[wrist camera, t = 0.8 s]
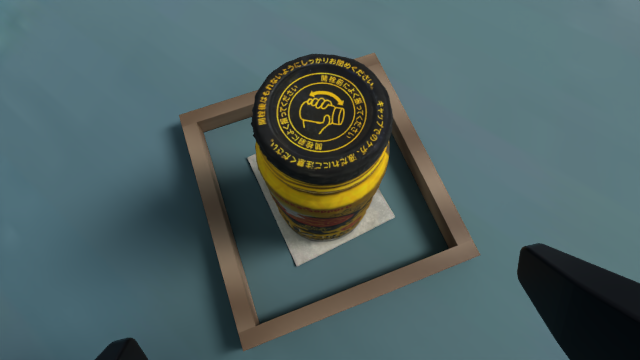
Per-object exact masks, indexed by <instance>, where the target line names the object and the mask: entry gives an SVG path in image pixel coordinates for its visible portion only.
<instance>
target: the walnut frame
mask: <svg viewBox="0 0 640 360" xmlns="http://www.w3.org/2000/svg"><path fill="white" fill-rule="evenodd" d="M354 60H356V61H358V62H360V63H362V64H364V65H365V66H366V67H367V68H369V69H370V70H371V71H372V72H373V73H374V74H375V75H376V76H377V78H378V79H379V80H380V82H381V83H382V85H383V86H384V87H385V88H386V90H387V92H388V94H389V98H390V103H391V108H392V114H393V122H392V124H393V125H392V134H393V136H394V138H395V140H396V142H397V144H398V146H399V148H400V150H401V152H402V154H403V156H404V158H405V160H406V162H407V164H408V166H409V168H410V170H411V172H412V174H413V177H414V179H415V181H416V183H417V185H418V187H419V189H420V191H421V193H422V195H423V197H424V199H425V201H426V203H427V205H428V207H429V209H430V211H431V213H432V215H433V217H434V219H435V221H436V223H437V225H438V227H439V229H440V231H441V233H442V235H443V237H444V239H445V241H446V243H447V245H448V247H449V249H447V250H445V251H442V252H440V253H437V254H435V255H432V256H430V257H427V258H425V259H422V260H420V261H417V262H415V263H412V264H410V265H407V266H405V267H402V268H400V269H397V270H395V271H392V272H390V273H387V274H385V275H382V276H380V277H377V278H375V279H372V280H370V281H367V282H365V283H362V284H360V285H357V286H355V287H352V288H350V289H347V290H345V291H342V292H340V293H337V294H335V295H332V296H330V297H327V298H325V299H322V300H320V301H317V302H315V303H312V304H310V305H307V306H304V307H302V308H299V309H297V310H294V311H292V312H289V313H287V314H284V315H282V316H279V317H277V318H274V319H272V320H269V321H267V322H264V323H262V324H259V320H258V317H257V313H256V310H255V307H254V303H253V300H252V296H251V293H250V290H249V286H248V283H247V279H246V276H245V272H244V269H243V266H242V262H241V259H240V255H239V252H238V249H237V245H236V242H235V238H234V235H233V232H232V228H231V225H230V221H229V218H228V215H227V211H226V208H225V204H224V201H223V198H222V194H221V191H220V187H219V184H218V180H217V177H216V174H215V170H214V167H213V163H212V160H211V157H210V153H209V150H208V146H207V143H206V140H205V136H204V133H203V132H206V131H209V130H212V129H215V128H218V127H221V126H224V125H227V124H230V123H233V122H236V121H240V120H243V119H246V118H249V117H252V115H253V112H252V109H253V107H254V101H255V95H256V93H257V91H258V90H256V91H253V92H250V93H247V94H244V95H241V96H237V97H234V98H231V99H228V100H225V101H222V102H219V103H215V104H212V105H209V106H206V107H203V108H200V109H197V110H194V111H190V112H187V113H184V114H181V115H179V117H180V121H181V124H182V128H183V132H184V135H185V139H186V143H187V146H188V150H189V154H190V157H191V161H192V165H193V168H194V172H195V176H196V179H197V183H198V187H199V190H200V194H201V198H202V201H203V205H204V209H205V212H206V216H207V220H208V223H209V227H210V231H211V234H212V238H213V242H214V245H215V249H216V253H217V257H218V260H219V264H220V268H221V271H222V275H223V279H224V282H225V286H226V290H227V293H228V297H229V301H230V304H231V308H232V312H233V315H234V319H235V323H236V326H237V330H238V334H239V337H240V341H241V345H242V348H243V351H245V350H248V349H250V348H253V347H255V346H258V345H260V344H263V343H265V342H268V341H270V340H272V339H275V338H277V337H280V336H282V335H285V334H287V333H290V332H292V331H295V330H297V329H300V328H302V327H304V326H307V325H309V324H312V323H314V322H317V321H319V320H322V319H324V318H327V317H329V316H332V315H334V314H337V313H339V312H341V311H344V310H346V309H349V308H351V307H354V306H356V305H359V304H361V303H364V302H366V301H369V300H371V299H373V298H376V297H378V296H381V295H383V294H386V293H388V292H391V291H393V290H396V289H398V288H401V287H403V286H405V285H408V284H410V283H413V282H415V281H418V280H420V279H423V278H425V277H428V276H430V275H433V274H435V273H437V272H440V271H442V270H445V269H447V268H450V267H452V266H455V265H457V264H460V263H462V262H465V261H467V260H469V259H472V258H474V257H477V256H479V255H480V253H479V251H478V249H477V247H476V245H475V244H474V242H473V240H472V238H471V236H470V234H469V232H468V230H467V228H466V226H465V224H464V223H463V221H462V219H461V217H460V215H459V213H458V211H457V209H456V207H455V205H454V203H453V201H452V200H451V198H450V196H449V194H448V192H447V190H446V188H445V186H444V184H443V182H442V180H441V179H440V177H439V175H438V173H437V171H436V169H435V167H434V165H433V163H432V161H431V159H430V157H429V156H428V154H427V152H426V150H425V148H424V146H423V144H422V142H421V140H420V138H419V136H418V135H417V133H416V131H415V129H414V127H413V125H412V123H411V121H410V119H409V117H408V115H407V114H406V112H405V110H404V108H403V106H402V104H401V102H400V100H399V98H398V96H397V94H396V92H395V91H394V89H393V87H392V85H391V83H390V81H389V79H388V77H387V75H386V73H385V71H384V70H383V68H382V66H381V64H380V62H379V60H378V58H377V56H376V54H375V53H372V54H369V55H366V56H363V57H360V58H356V59H354Z"/></svg>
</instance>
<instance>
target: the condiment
mask: <svg viewBox="0 0 640 360" xmlns="http://www.w3.org/2000/svg"><path fill="white" fill-rule="evenodd" d="M252 112H253V115H252V123H251V125H252V127H253V132H254V134H253V136H254V137H255V139H256V145H255V148H256V154H254V155H252V156H250V157H248V160H249V163H250V165H251V167H252V169H253V171H254V174H255V176H256V178H257V180H258V182H259V184H260V186H261V189H262V191H263V193H264V195H265V198H266V200H267V202H268V204H269V206H270V208H271V211H272V213H273V215H274V217H275V219H276V222H277V224H278V226H279V228H280V230H281V233H282V235H283V237H284V239H285V241H286V243H287V246H288V248H289V250H290V252H291V254H292V257H293V259H294V261H295V263H296V265H297V266H299V265H301V264H303V263H305V262H307V261H309V260H311V259H313V258H315V257H317V256H319V255H321V254H323V253H325V252H327V251H329V250H331V249H333V248H335V247H337V246H339V245H341V244H343V243H345V242H347V241H349V240H351V239H353V238H355V237H357V236H359V235H361V234H363V233H365V232H367V231H369V230H371V229H373V228H374V227H376V226H378V225H380V224H382V223H384V222H386V221H388V220H390V219H392V218H394V217H395V216H394V214H393V212H392V211H391V209H390V207H389V206H388V204H387V202H386V200H385V199H384V197H383V195H382V194H381V192H380V190H379V185H380V183H381V181H382V178H383V176H384V174H385V172H386V168H387V165H388V160H389V153H390V151H389V147H390V144H389V139H390V137H391V132H392V125H393V124H392V122H393V114H392V108H391V103H390V98H389V94H388V92H387V90H386V88H385V87H384V86H383V85H382V83H381V82H380V80H379V79H378V78H377V76H376V75H375V74H374V73H373V72H372V71H371V70H370V69H369V68H367V67H366V66H365V65H364V64H362V63H360V62H358V61H356V60H354V59H349V58H346V57H341V56H337V55H326V54H310V55H306V56H303V57H299V58H297V59H295V60H292V61H289V62H286V63H285V64H283V65H282V66H280V67H279V68H277V69H276V70H274V71H273V72H272V73H271V74H269V75H268V77H267V78H266V80H265V81H264V83H263V84H262V85H261V87H260V88H259V90H258V91H257V93H256V95H255V101H254V107H253V109H252Z"/></svg>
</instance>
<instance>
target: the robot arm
mask: <svg viewBox="0 0 640 360" xmlns="http://www.w3.org/2000/svg"><path fill="white" fill-rule="evenodd" d="M517 275H518V279H519V282H520V283H521V285H522V287H523V288H524V290H525V292H526V293H527V295H528V296H529V298H530V300H531V301H532V303H533V305H534V306H535V308H536V309H537V311H538V313H539V314H540V316H541V317H542V319H543V321H544V322H545V324H546V325H547V327H548V329H549V330H550V332H551V334H552V335H553V337H554V338H555V340H556V341H557V343H558V344H559V345H560V347H561V348H562V350H563V351H564V352H565V354H566V355H567V356H568V358H569V359H570V360H640V283H638V282H635V281H633V280H630V279H628V278H625V277H623V276H621V275H618V274H616V273H613V272H611V271H608V270H606V269H603V268H601V267H598V266H596V265H594V264H591V263H589V262H586V261H584V260H581V259H579V258H576V257H574V256H571V255H569V254H567V253H564V252H562V251H559V250H557V249H554V248H552V247H549V246H547V245H544V244H541V243H537V244H533V245H528V246H524V247H523V248H522V249H521V251H520V256H519V263H518V270H517ZM95 360H148V358H147V357H146V355H145V354H144V352H143V351H142V349H141V348H140V346H139V345H138V343H137V342H136V340H135V339H133V338H125V339H121V340H117V341H114V342H112V343H110V344H109V345H108V346H107V347H106V348H105V349H104V350H103V351H102V353H101V354H100V355H99V356H98V357H97V358H96V359H95Z"/></svg>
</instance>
